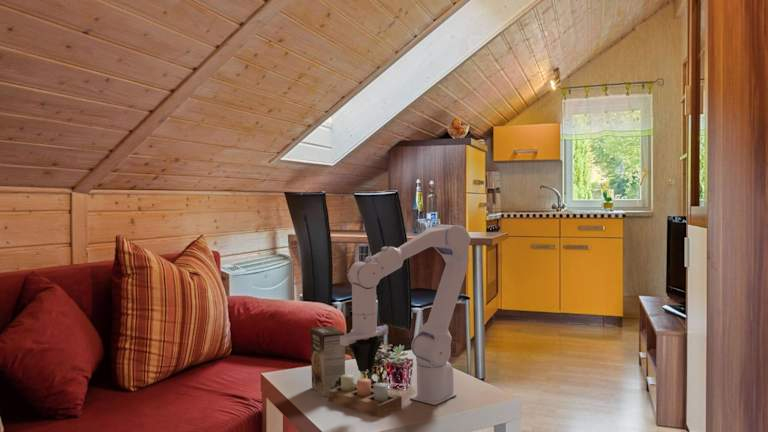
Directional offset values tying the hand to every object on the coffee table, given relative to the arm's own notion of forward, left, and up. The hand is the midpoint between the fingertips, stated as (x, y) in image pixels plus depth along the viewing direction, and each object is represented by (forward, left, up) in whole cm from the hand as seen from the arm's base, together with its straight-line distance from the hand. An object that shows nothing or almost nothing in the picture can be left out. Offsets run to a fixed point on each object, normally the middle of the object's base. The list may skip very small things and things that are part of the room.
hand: (365, 370), depth 139 cm
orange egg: (-3, -4, -8) cm, 9 cm away
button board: (-3, -4, -10) cm, 11 cm away
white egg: (-3, +2, -8) cm, 9 cm away
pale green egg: (-3, -9, -8) cm, 12 cm away
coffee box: (-5, -19, -10) cm, 22 cm away
